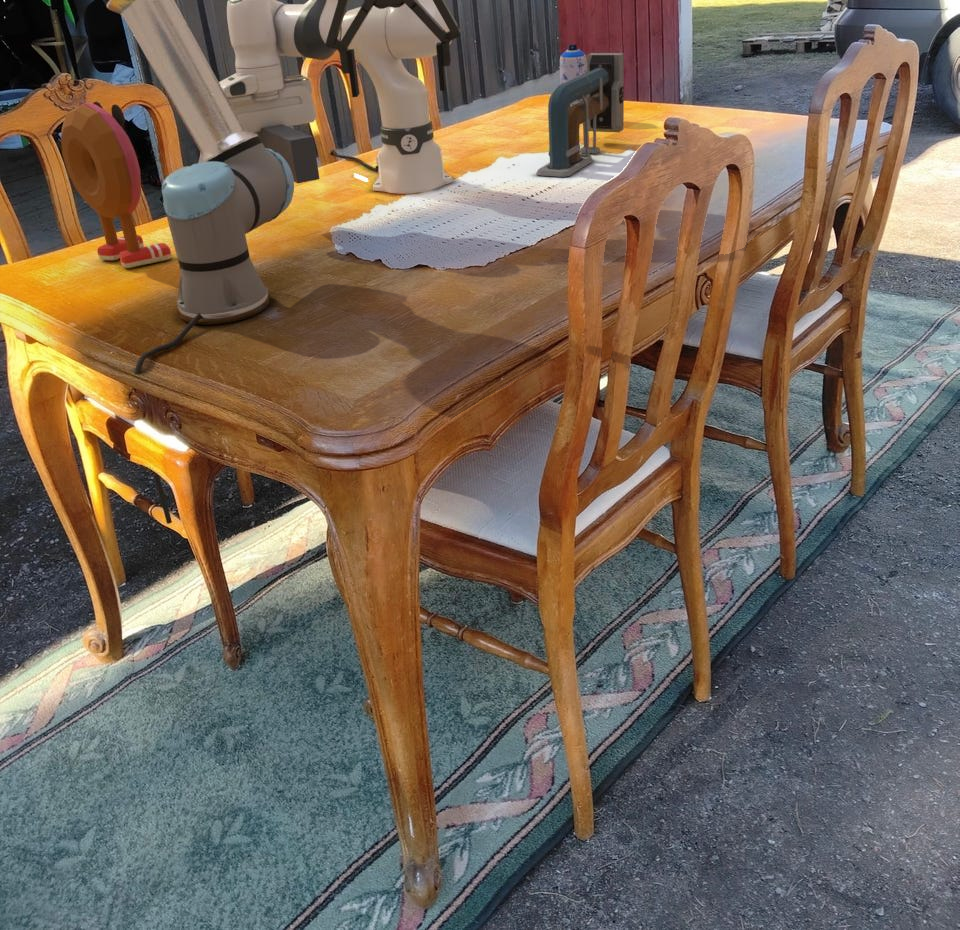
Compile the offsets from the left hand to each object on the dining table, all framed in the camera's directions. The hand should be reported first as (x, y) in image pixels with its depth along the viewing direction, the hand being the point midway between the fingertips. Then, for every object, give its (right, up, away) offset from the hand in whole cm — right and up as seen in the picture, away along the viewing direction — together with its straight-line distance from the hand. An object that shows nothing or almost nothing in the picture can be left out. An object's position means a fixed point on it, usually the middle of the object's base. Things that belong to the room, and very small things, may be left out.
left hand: (399, 92), depth 149 cm
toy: (-57, -16, +45) cm, 75 cm away
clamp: (+37, +18, +89) cm, 98 cm away
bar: (-26, +2, +46) cm, 53 cm away
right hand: (-30, +7, +50) cm, 59 cm away
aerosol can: (+40, +42, +128) cm, 141 cm away
